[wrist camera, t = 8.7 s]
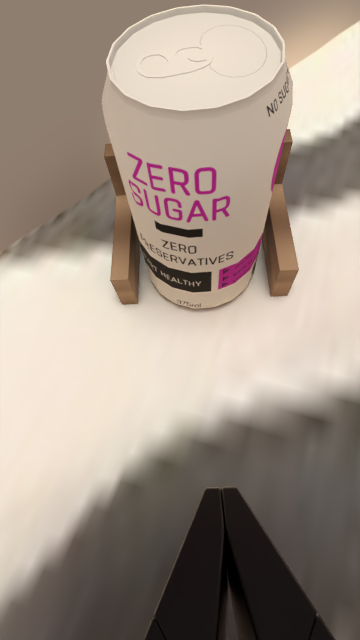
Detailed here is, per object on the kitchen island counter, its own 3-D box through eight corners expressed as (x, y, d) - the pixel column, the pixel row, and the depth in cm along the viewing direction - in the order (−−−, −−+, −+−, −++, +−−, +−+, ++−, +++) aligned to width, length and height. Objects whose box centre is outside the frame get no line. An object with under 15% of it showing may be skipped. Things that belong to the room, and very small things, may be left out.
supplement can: (236, 215, 29) (262, -18, 15) (267, 299, 25) (337, 94, 12) (142, 236, 29) (83, 18, 15) (160, 323, 25) (104, 143, 11)
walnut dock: (287, 295, 25) (314, 234, 19) (122, 304, 26) (94, 248, 20) (271, 205, 29) (289, 129, 23) (127, 215, 30) (105, 144, 23)
